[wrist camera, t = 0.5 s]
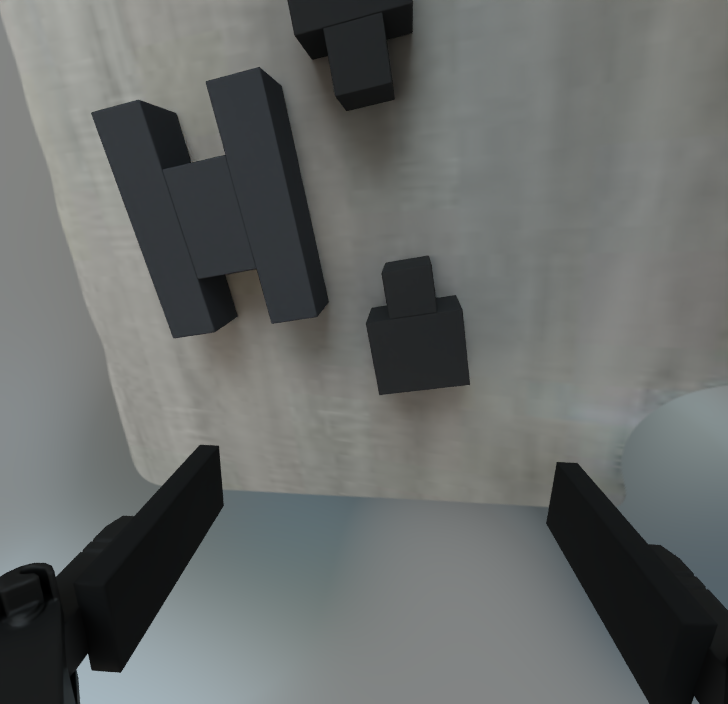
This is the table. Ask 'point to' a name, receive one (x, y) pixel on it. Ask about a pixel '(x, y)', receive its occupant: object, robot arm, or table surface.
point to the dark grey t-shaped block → (353, 43)
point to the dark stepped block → (416, 332)
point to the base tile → (218, 205)
